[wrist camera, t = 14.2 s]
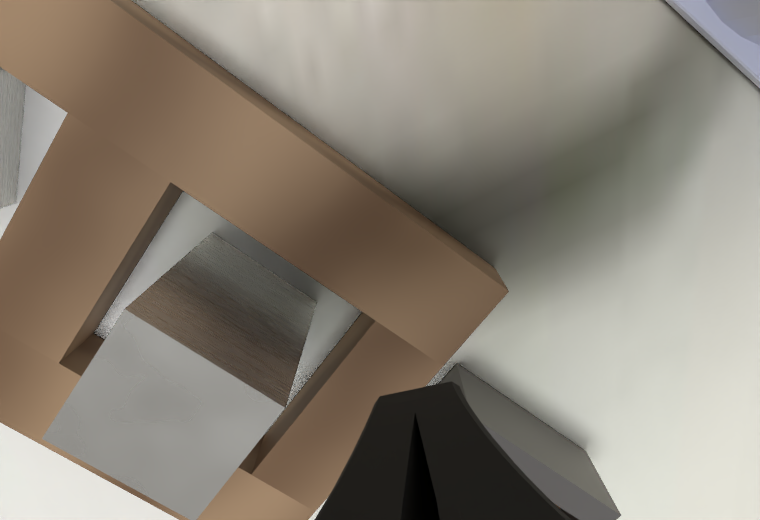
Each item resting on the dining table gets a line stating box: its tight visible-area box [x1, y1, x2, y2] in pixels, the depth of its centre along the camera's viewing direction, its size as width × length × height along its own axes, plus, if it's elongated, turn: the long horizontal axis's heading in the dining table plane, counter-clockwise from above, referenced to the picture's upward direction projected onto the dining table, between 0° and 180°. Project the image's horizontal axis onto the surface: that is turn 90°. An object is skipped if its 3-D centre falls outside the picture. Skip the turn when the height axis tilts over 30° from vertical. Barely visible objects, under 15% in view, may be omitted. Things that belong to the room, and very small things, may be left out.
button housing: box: [439, 364, 621, 520], centre depth 18 cm, size 6×6×3 cm
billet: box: [42, 233, 317, 520], centre depth 15 cm, size 4×4×6 cm
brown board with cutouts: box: [0, 0, 509, 520], centre depth 16 cm, size 22×13×2 cm, turn 53°
